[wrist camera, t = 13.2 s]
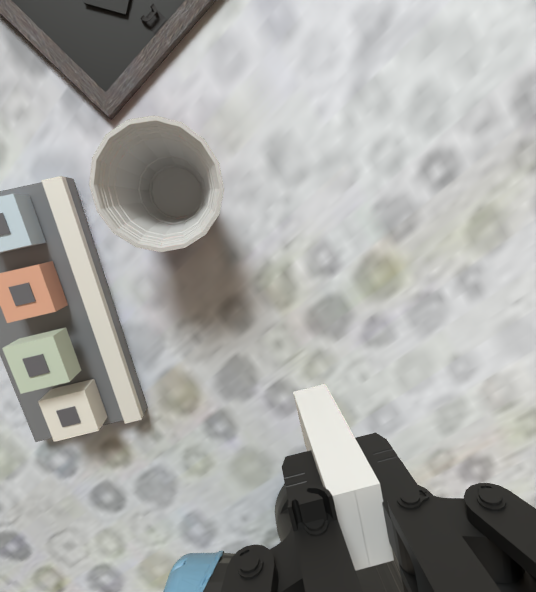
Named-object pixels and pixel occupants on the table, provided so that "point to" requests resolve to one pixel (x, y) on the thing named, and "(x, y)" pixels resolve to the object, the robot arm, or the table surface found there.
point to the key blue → (18, 223)
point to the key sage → (42, 360)
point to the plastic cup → (156, 183)
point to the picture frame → (105, 40)
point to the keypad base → (73, 307)
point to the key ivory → (73, 410)
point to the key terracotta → (31, 292)
